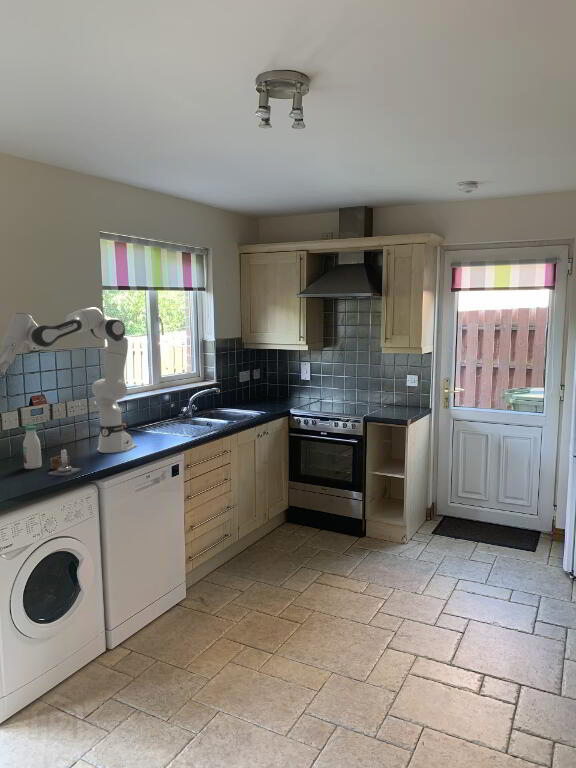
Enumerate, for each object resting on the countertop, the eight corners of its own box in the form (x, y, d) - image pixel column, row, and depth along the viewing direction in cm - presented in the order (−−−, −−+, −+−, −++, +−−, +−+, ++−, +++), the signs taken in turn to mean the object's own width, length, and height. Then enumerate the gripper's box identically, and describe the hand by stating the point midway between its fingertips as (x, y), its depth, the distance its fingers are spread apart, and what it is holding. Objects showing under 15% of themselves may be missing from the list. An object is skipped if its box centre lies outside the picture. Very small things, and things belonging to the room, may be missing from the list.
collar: (59, 465, 277) (58, 455, 277) (69, 466, 276) (69, 456, 275) (50, 468, 272) (50, 458, 271) (61, 469, 270) (60, 459, 269)
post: (63, 469, 270) (61, 447, 269) (81, 470, 267) (79, 448, 266) (48, 474, 260) (47, 452, 259) (67, 475, 257) (65, 453, 256)
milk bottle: (44, 465, 280) (41, 424, 278) (38, 469, 272) (35, 427, 270) (28, 465, 279) (25, 425, 278) (21, 469, 272) (18, 428, 270)
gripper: (22, 345, 261) (12, 373, 258) (15, 349, 278) (5, 376, 275) (8, 340, 258) (-3, 369, 255) (2, 344, 275) (-9, 371, 272)
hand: (1, 372), depth 265 cm, fingers open, 8 cm apart
